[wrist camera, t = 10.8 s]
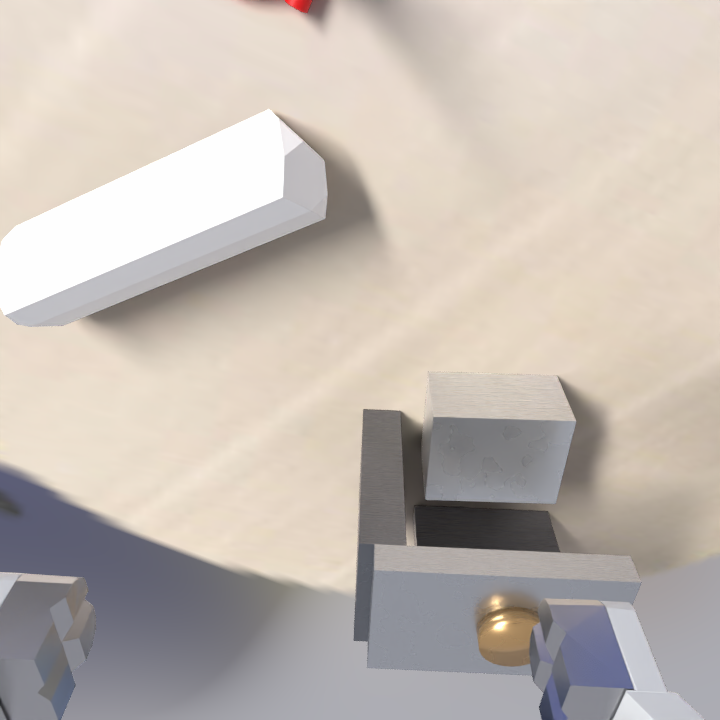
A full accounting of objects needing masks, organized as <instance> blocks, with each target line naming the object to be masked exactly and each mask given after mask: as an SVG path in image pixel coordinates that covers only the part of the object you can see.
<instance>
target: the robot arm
mask: <svg viewBox="0 0 720 720" xmlns="http://www.w3.org/2000/svg"><path fill="white" fill-rule="evenodd" d="M87 592H88V587H87V584H86V582H85V579H84V578H80V577H65V576H51V575H37V574H23V573H4V572H0V720H61V718H62V716H63V714H64V711H65V709H66V707H67V704H68V702H69V700H70V697H71V695H72V693H73V690H74V688H75V681H74V678H73V674H72V672H73V671H74V670H75V669H77V668H78V667H79V666H80V665H81V664H82V663H83V662H85V661H86V659H87V657H88V654H89V652H90V649H91V647H92V644H93V639H94V634H95V630H96V615H95V611H94V607H93V606H92V605H91V604H90V603H89V602H87V601H86V600H85V596H86V594H87ZM538 616H539V620H540V622H539V623H538V624H536V625H535V626H533V628H532V632H531V636H530V648H529V657H530V666H531V672H532V677H533V681H534V683H535V684H536V685H537V686H538V687H539V688H540V690H541V691H542V692H543V696H542V699H541V703H540V706H539V710H540V714H541V719H542V720H705V719H704V718H703V717H702V716H701V715H700V714H699V713H698V712H697V711H696V710H695V709H693V708H692V707H691V706H690V705H689V704H688V703H687V702H686V701H685V700H684V699H683V698H682V697H681V696H680V695H679V694H678V693H675V692H668V690H667V688H666V685H665V683H664V680H663V678H662V675H661V673H660V671H659V668H658V665H657V663H656V660H655V658H654V656H653V653H652V651H651V648H650V646H649V643H648V641H647V638H646V636H645V633H644V631H643V628H642V626H641V624H640V621H639V618H638V616H637V613H636V611H635V608H634V607H633V606H632V605H631V604H630V603H629V602H614V601H598V600H581V599H549V598H544V599H543V600H542V601H541V602H540V605H539V608H538Z"/></svg>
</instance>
